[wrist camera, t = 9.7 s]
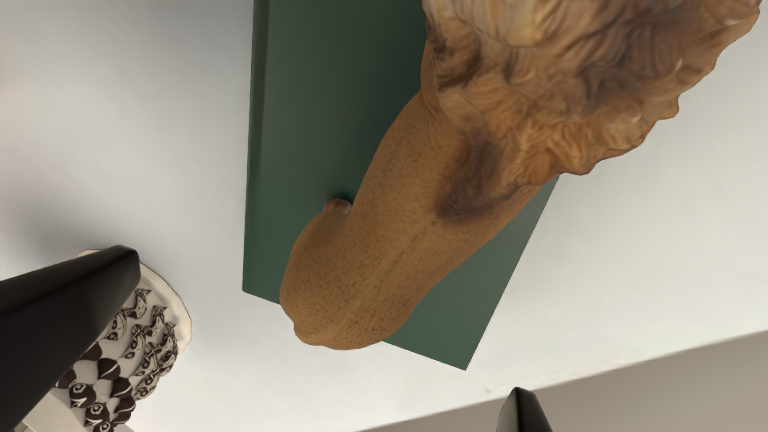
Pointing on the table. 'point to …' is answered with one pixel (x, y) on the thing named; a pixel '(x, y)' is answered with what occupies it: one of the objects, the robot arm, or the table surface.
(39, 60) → the table surface
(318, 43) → the book
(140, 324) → the decorative candle
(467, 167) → the lion figurine
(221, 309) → the table surface
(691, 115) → the table surface
